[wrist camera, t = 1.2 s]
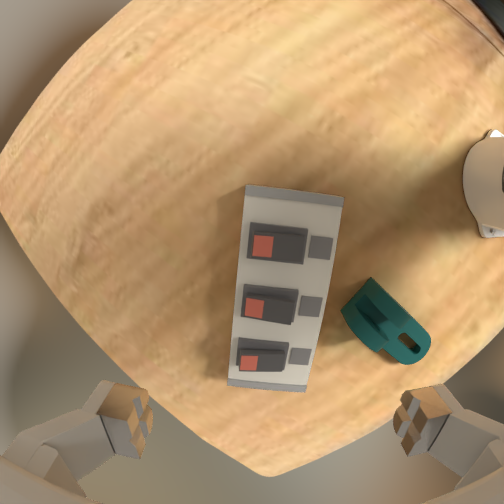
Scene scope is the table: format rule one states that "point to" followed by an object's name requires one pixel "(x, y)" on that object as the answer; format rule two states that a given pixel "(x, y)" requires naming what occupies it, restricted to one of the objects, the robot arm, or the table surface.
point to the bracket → (385, 324)
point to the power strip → (284, 282)
